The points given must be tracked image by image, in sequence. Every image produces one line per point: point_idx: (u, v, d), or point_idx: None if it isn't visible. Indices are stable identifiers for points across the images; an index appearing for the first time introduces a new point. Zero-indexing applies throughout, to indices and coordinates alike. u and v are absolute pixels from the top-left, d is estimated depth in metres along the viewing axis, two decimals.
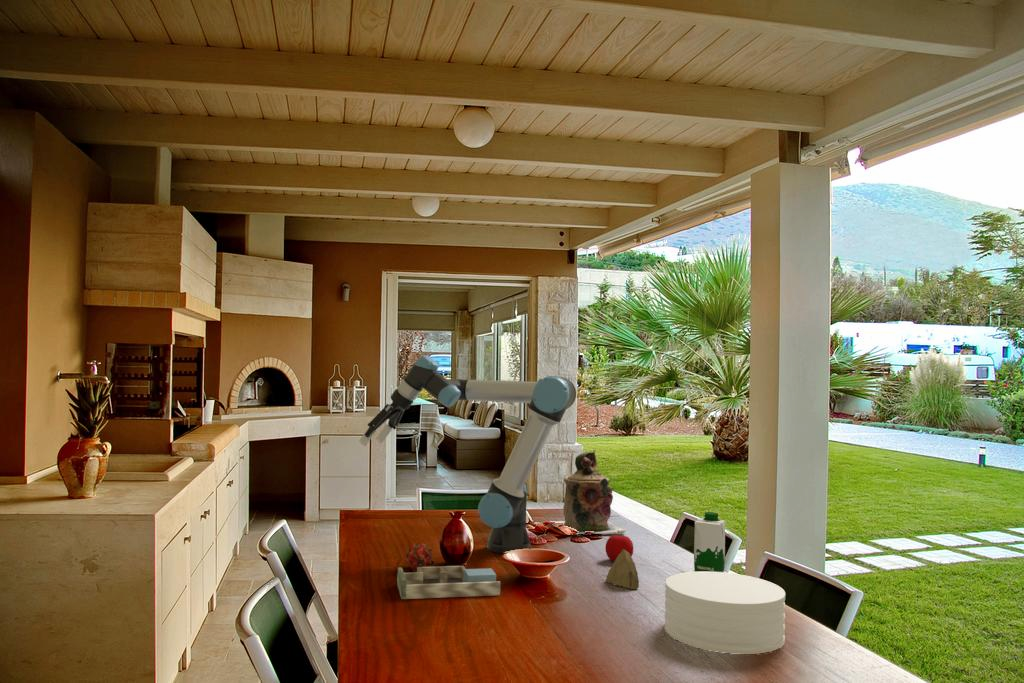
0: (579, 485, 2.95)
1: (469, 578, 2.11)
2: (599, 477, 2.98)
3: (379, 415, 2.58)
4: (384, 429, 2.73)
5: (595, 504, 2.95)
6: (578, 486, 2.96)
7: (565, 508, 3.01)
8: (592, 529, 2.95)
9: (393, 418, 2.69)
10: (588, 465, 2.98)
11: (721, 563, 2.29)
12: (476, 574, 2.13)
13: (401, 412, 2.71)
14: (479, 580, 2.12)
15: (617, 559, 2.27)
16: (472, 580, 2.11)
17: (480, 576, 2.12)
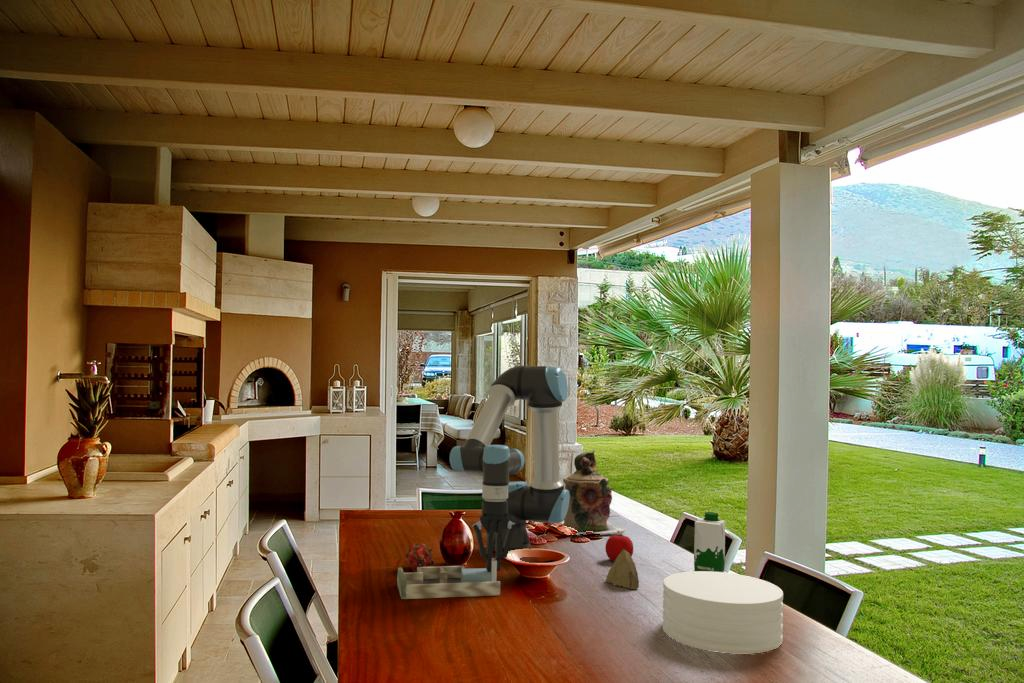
0: (578, 485, 2.95)
1: (464, 577, 2.11)
2: (598, 477, 2.98)
3: None
4: None
5: (594, 504, 2.95)
6: (578, 486, 2.95)
7: None
8: (591, 529, 2.95)
9: None
10: (587, 465, 2.97)
11: (721, 563, 2.29)
12: (472, 574, 2.13)
13: None
14: (474, 580, 2.12)
15: (617, 559, 2.27)
16: (467, 579, 2.11)
17: (475, 576, 2.12)
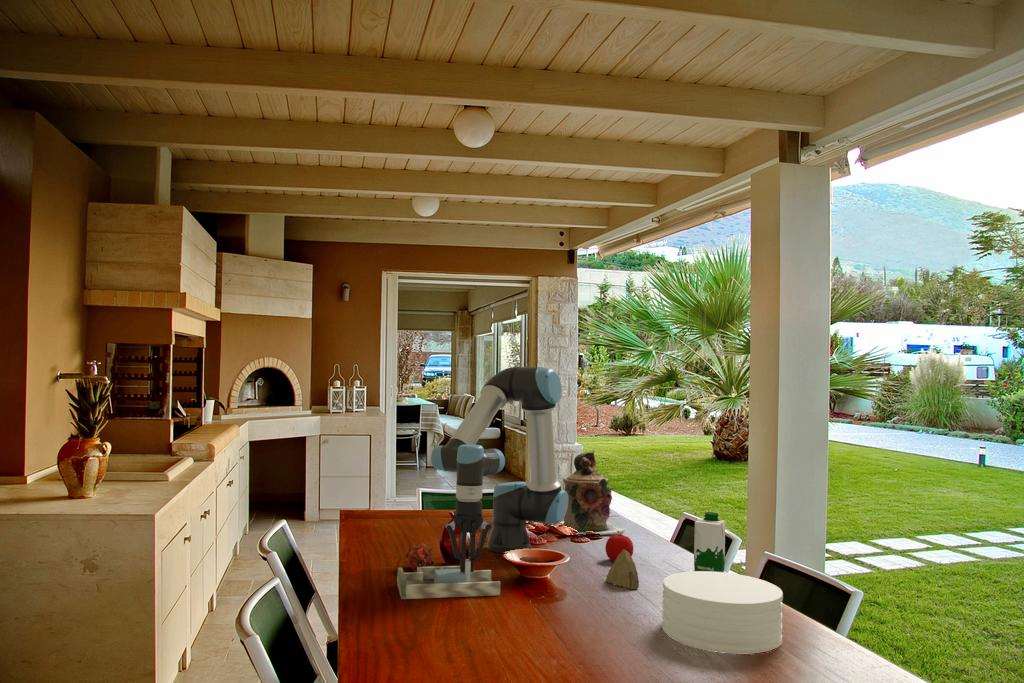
0: (578, 485, 2.95)
1: (439, 579, 2.09)
2: (598, 477, 2.98)
3: None
4: None
5: (594, 504, 2.95)
6: (577, 486, 2.95)
7: None
8: (591, 529, 2.95)
9: None
10: (587, 465, 2.97)
11: (721, 563, 2.29)
12: (446, 574, 2.11)
13: None
14: (449, 581, 2.10)
15: (617, 559, 2.27)
16: (441, 580, 2.09)
17: (450, 576, 2.10)
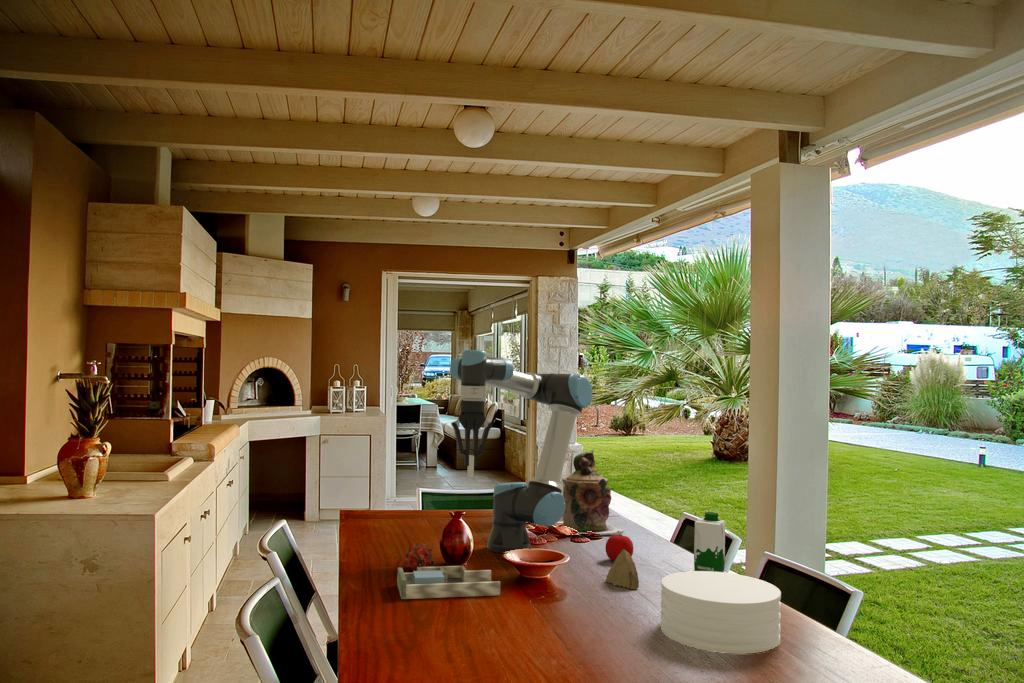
0: (577, 486, 2.94)
1: (416, 580, 2.08)
2: (597, 477, 2.97)
3: None
4: None
5: (593, 504, 2.94)
6: (577, 486, 2.94)
7: None
8: (590, 530, 2.94)
9: None
10: (586, 465, 2.97)
11: (721, 563, 2.29)
12: (424, 576, 2.09)
13: None
14: (426, 582, 2.08)
15: (617, 559, 2.27)
16: (418, 582, 2.08)
17: (427, 578, 2.08)
